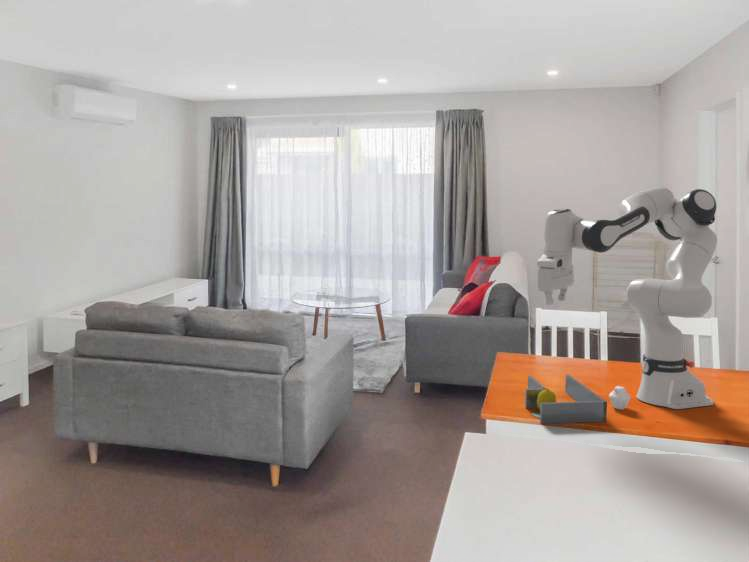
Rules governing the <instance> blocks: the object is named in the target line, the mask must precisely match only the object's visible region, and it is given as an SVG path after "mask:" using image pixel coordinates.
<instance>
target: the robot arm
mask: <svg viewBox="0 0 749 562" xmlns="http://www.w3.org/2000/svg"><path fill="white" fill-rule="evenodd" d="M716 211H717V201H716V198H715V197H714V196H713V194H711V193H710V191H708V190H706V189H702V188H698V189H693V190H691V191H689V192H687V193H686V194H684V195H683V197H681V198H680V199H677V198H675V195H674V194H673V192H672V191H671V190H670V189H669V188H667V187H664V186H658V187H652V188H648V189H644V190H641V191H638V192H635V193H634V194H631V195H629V196H627V197H626V198H625V199H623V200H622V201H621V202H620V204H619V207H618V215H619V216H618V217H615V218H614V219H612V220H610V219H584V218H583V217H581V216H578V215H576V214H575V213H574V212H573V211H572V209H570V208H561V209H560V208H559V209H554V210H551V211H549V212H548V213H547V215H546V218H545V221H544V234H543V238H544V248H543V254H542V255H541V257H540V258H539V259H538V260H537V261H536V267H537V268H538V269H537V289H538V291H539V292H542V293H543V292H544V296H545V304H546V305H549V306H550V305H553V304H554V298H553V292H554V291H558V290H559V294H558V297H557V299H558V301H560V302H564V301H565V300H566V295H567V293H568V288H569V287H571V286H573V285H574V281H575V280H574V279H575V278H574V277H575V272H574V271H575V269H574V265H573V249H577V250H585V251H592V252H595V253H602V254H603V253H606V252H608V251H609V250H611V249H612V248H613V247H614V246H615V245H616V244H617V243H618V242H619V241H620V240H622V239H623V238H625V237H627V236H628V235H630V234H632V233H634V232H636V231H638V230H639V229H641V228H643V227H644V226H646V225H649V224H651V223H653V222H654V224H655V226H656V228H657V230H658V232H659V233H660V234H661V235H662V237H664V238H665V239H667V240H668V241H678V240H679V242H678V243H677V245H676V246H675V248H674V249H673V252H671V255H670V256H669V258H668V260H667V261H666V263H665V265H666V266H665V271H666V273H667V274H668V276H669V277H670V278H671V279H662V278H661V279H660V278H653V277H648V278H647V277H646V278H635V279H633V280H632V281H631V282H630V283H629V285H628V286H627V287H626V288H627V289H626V291H625V299H626V301H627V304H628V305H629V306H630V308H632V309H633V310H634V311H635V313H636V314H637V315H638V317H639V319H640V321H641V324H642V326H643V330H644V354H643V355H642V362H641V363H642V364H641V365H642V367H641V370H642V374H641V375H642V376H641V381H640V384H639V388H638V391H637V393H636V398H637V399H638V400H639V401H641V402H644V403H647V404H651V405H654V406H658V407H666V408H669V409H672V410H673V409H674V410H683V409H691V408H699V407H707V406H708V407H709V406H714V400H713V399H712V398H711V397H710V396H708V395H707V393H706V386H705V384H704V382H703V381H702V380H700V378H698V377H697V376H696V375H694V374H693V373H692V372H691V371H690V370H688V368H691V369H692V368H694V367H695V362H694V361H693V360H690V359H688V360H687V359H685V358H684V357H683V355H684V345H685V344H684V342H685V338H684V334H683V332H682V331H681V330H680V329H679V328H677V327H676V326H675V325H673V323H672V322H671V320H670V317H669V316H673V317H678V318H683V319H684V318H687V319H688V318H702V317H704V316H705V315H706V314H707V313H708V312H709V311H710V309H711V307H712V302H713V298H712V297H713V296H712V294H711V292H710V290H709V289H708V287H706V286H705V285H704V283H703V282H702V279H703V275H704V273H705V272H706V269H707V268H708V266H709V264H710V262H711V260H712V259H713V256H714V253H715V251H716V248H717V245H718V238H717V234H716V233H715V232H714V230H712V229H711V228H710V225H712V224H714V222H715V221H716V218H715V215H716Z"/></svg>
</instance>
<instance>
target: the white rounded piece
mask: <svg viewBox="0 0 749 562" xmlns="http://www.w3.org/2000/svg"><path fill="white" fill-rule="evenodd" d="M608 397H609V401H610V404H611V405H612V407H613V408H614V409H615V408H616V410H625V408H626V407H627V405H628V404H629V402H630V400H631V396H630V394H629V393H628V392H627V389H626V387H624V386H620V385H617V386H615V387H614V388H613V390H612V391H611V392H610V393H609V394H608Z"/></svg>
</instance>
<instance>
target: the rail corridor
mask: <svg viewBox="0 0 749 562" xmlns="http://www.w3.org/2000/svg"><path fill="white" fill-rule="evenodd" d="M564 386H565V388H564V389H565V390H564V393H566V394H567V395H568V396H569V397H570V398H572V399H573V400H575V401H558V402H557V401H556V402H550V403H541V409H539V407H538V405H537V398H538V395H539V393H540V392H541V391H542V390H545V389H547V388H546V387H545V386H544V385H543V384H541V382H539V381H538V380H537V379H536V378H534V377H533V376H532V375H527V388H525V392H524V393H525V396H524V397H525V399H524V401H525V402H524V408H525V409H536V410H533V411H532V412H531V415H532V417H534V418H536V419H539V423H540V425H545V424H546V425H549V424H554V425H555V424H574V423H575V424H576V422H583V423H604V422H607V413H608V412H607V411H608V401H607V400H605V399H604V398H603V397H601V396H599V394H598V393H595V392H594V391H593V390H591V389H590V388H589V387H587V386H585V384H582V383H581V382H580V381H578V380H577V379H575V378H574V377H573V376H572V375H570V374H565V384H564Z"/></svg>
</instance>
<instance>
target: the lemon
mask: <svg viewBox="0 0 749 562" xmlns="http://www.w3.org/2000/svg"><path fill="white" fill-rule="evenodd" d="M556 396H557V395H556V394H555V392H554V391H552V390H551V389H550V388H546V389H545V390H542V391H541V392H540V393H539V395H538V398H537V405H538V407H539V408H538V410H540V409H541V403H550V402H557V398H556Z"/></svg>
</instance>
